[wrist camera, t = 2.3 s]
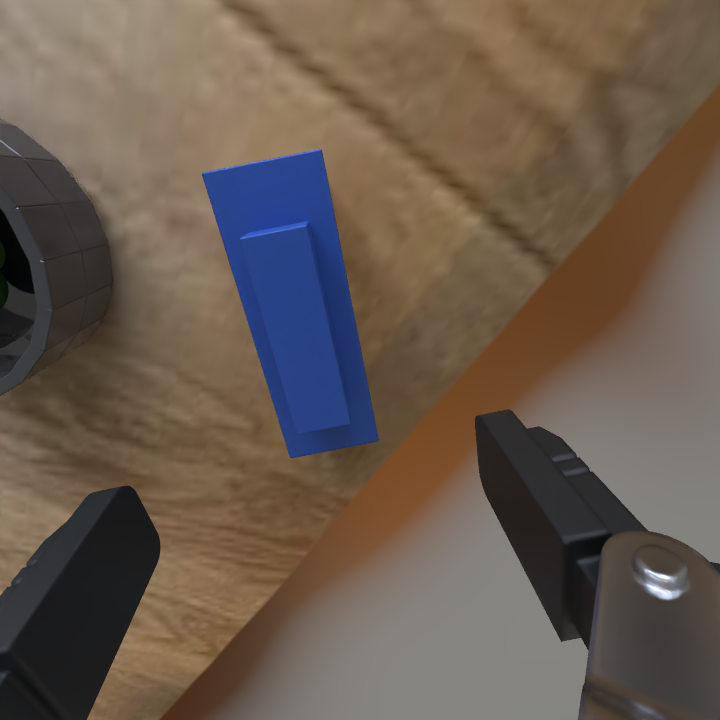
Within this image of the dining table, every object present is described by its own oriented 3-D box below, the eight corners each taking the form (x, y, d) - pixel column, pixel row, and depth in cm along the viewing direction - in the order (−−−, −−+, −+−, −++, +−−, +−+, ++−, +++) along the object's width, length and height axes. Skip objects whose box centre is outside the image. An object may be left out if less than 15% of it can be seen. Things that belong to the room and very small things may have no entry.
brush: (225, 175, 20) (186, 171, 14) (322, 155, 20) (320, 144, 14) (295, 417, 25) (287, 481, 20) (371, 402, 25) (383, 462, 20)
